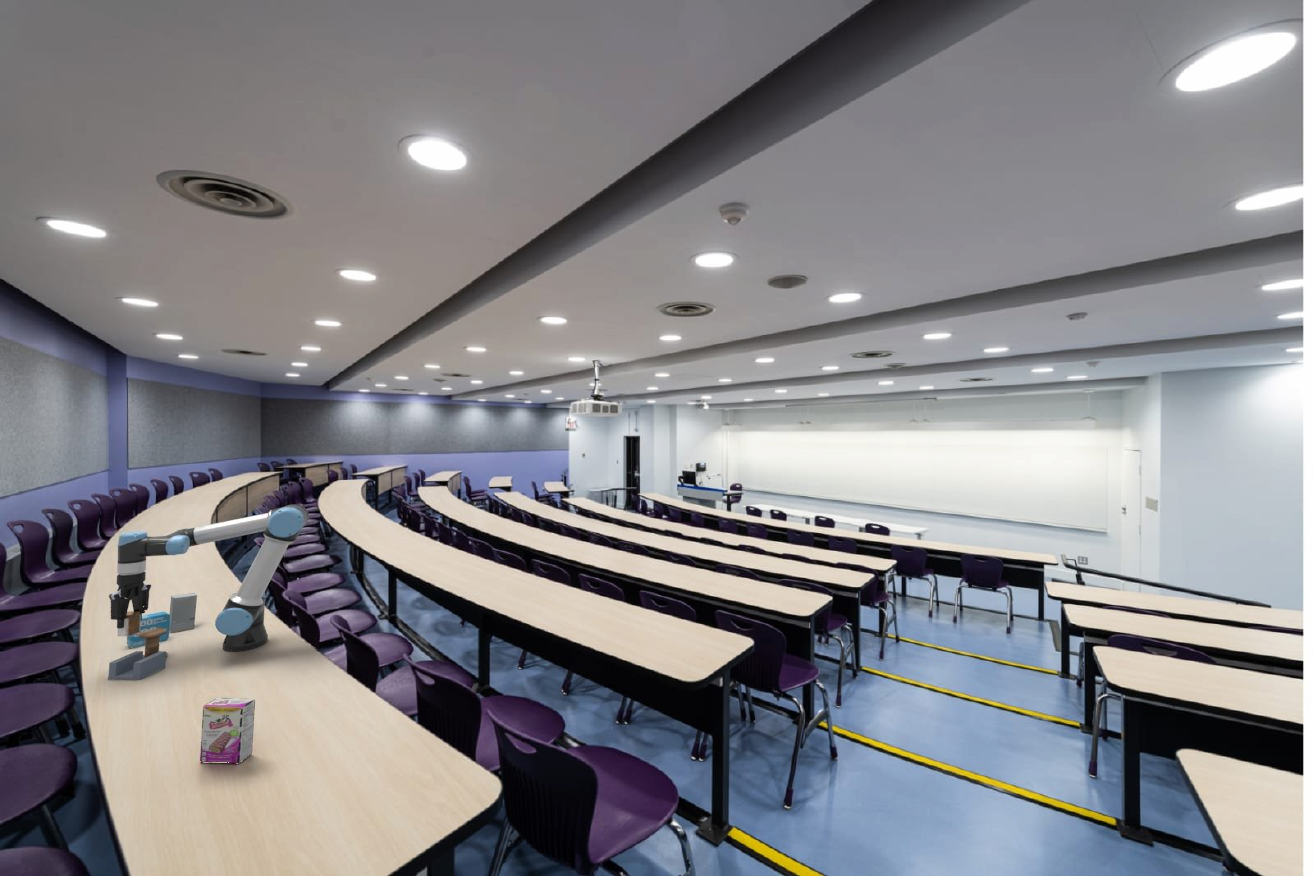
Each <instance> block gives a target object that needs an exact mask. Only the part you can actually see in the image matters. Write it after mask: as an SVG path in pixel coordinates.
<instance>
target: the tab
mask: <svg viewBox="0 0 1313 876" xmlns="http://www.w3.org/2000/svg"><path fill="white" fill-rule="evenodd" d="M126 619H128V633H127V636H131V635H133V634H136V633H138V632H139V629H140V612H139V611H134V610H132V611H129V610H128V611H127V615H126ZM127 636H126V637H127Z"/></svg>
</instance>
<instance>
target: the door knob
mask: <svg viewBox="0 0 1313 876" xmlns="http://www.w3.org/2000/svg"><path fill="white" fill-rule="evenodd" d="M165 633H167V629H166V628H155V629H149V630H146V631H143V632H140V633H139V635H138V637H139V638H146V639H145V646H144V654H143V659H144V658H146V657H148V656H150V655H153V654H155V653H157V652H159V651H160V642H159V641H160V635H163V634H165ZM167 657H168V652H167V651H166V658H167Z"/></svg>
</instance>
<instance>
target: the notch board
mask: <svg viewBox="0 0 1313 876" xmlns="http://www.w3.org/2000/svg"><path fill="white" fill-rule="evenodd" d="M166 652H167V651H166V650H165V651H160V650H159V652H157V653H155V654H153V655H150V656H148V657H146V658H144V659H143V655H144V651H143V650H136V651H133V652H130V653H129V654H126V655H123V656H122V657H120V658H118V659H114V660H113V661H110V662H109V663H108V677H107V680H108V679H114V680H115V679H116V681H118V680H119V681H123V680H124V679H125V680H126V681H133V680H134V681H135V680H136V681H140V680H143V679H144V678H147V677H149V676H151V675H153V674H155V673H157V672H158V671H161V670H163V669H165V668H166V663H167V661H166V658H167V657H166ZM142 678H143V679H142ZM120 679H121V680H120ZM125 680H124V681H125Z"/></svg>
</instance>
